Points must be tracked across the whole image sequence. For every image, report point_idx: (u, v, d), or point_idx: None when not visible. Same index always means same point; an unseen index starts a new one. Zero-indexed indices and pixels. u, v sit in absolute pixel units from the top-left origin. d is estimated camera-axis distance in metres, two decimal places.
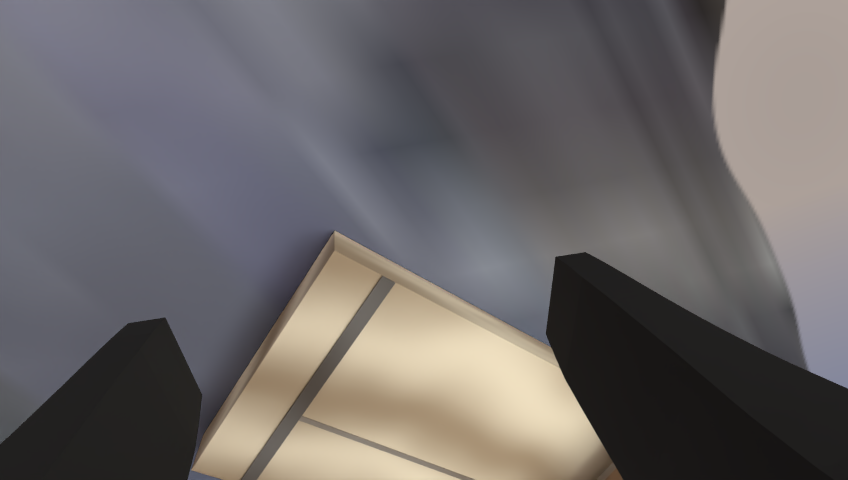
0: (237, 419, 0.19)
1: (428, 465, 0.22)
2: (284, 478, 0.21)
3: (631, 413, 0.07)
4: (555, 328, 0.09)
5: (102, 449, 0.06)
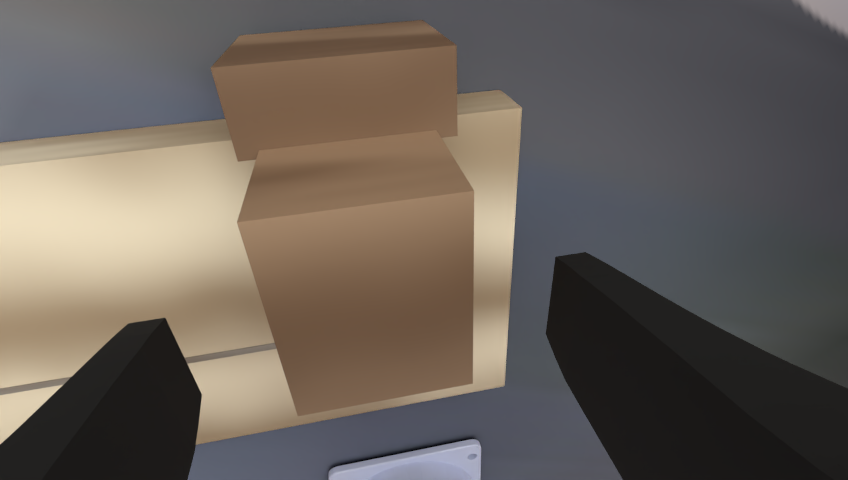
0: None
1: None
2: None
3: (631, 413, 0.07)
4: (555, 328, 0.09)
5: (102, 449, 0.06)
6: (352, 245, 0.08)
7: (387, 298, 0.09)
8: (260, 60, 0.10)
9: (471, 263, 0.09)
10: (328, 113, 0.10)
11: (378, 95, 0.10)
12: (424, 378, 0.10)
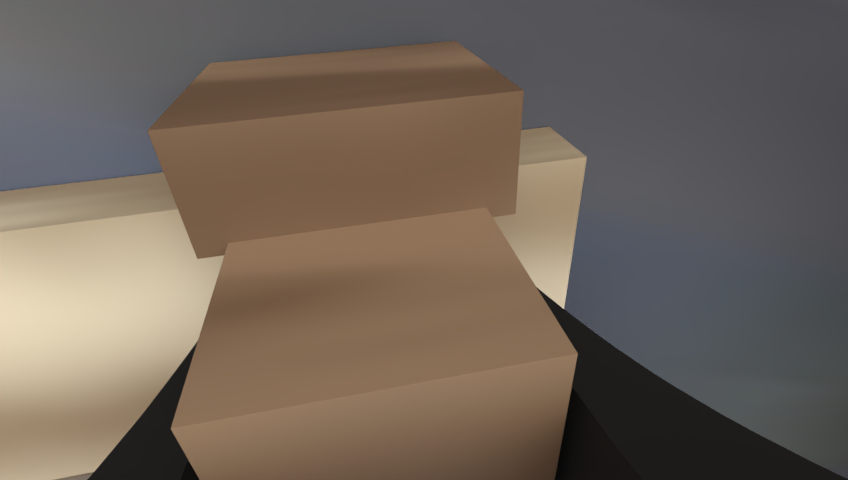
0: None
1: None
2: None
3: None
4: None
5: None
6: (371, 440, 0.05)
7: None
8: (227, 115, 0.06)
9: (558, 444, 0.06)
10: (331, 190, 0.07)
11: (405, 163, 0.07)
12: None
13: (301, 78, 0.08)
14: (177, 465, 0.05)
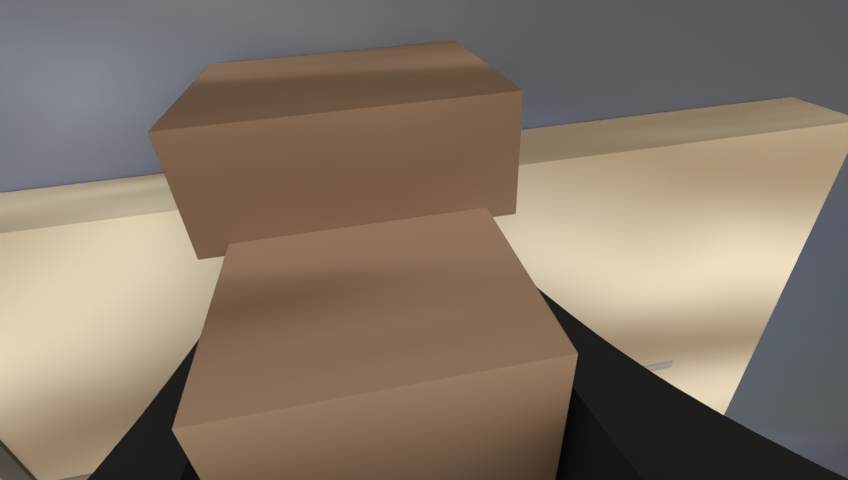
0: None
1: None
2: None
3: None
4: None
5: None
6: (372, 440, 0.05)
7: None
8: (227, 117, 0.06)
9: (558, 444, 0.06)
10: (331, 190, 0.07)
11: (405, 163, 0.07)
12: None
13: (301, 79, 0.08)
14: (177, 465, 0.05)
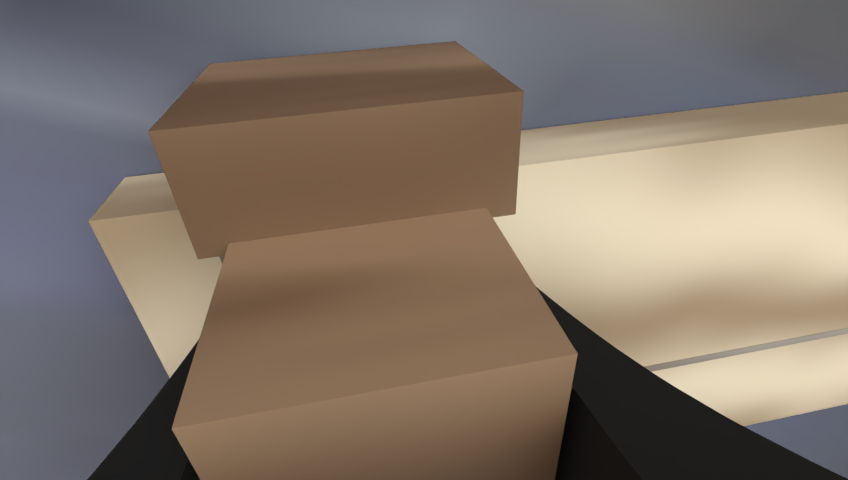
0: None
1: None
2: None
3: None
4: None
5: None
6: (371, 440, 0.05)
7: None
8: (227, 116, 0.06)
9: (558, 444, 0.06)
10: (331, 190, 0.07)
11: (405, 164, 0.07)
12: None
13: (301, 79, 0.08)
14: (177, 465, 0.05)
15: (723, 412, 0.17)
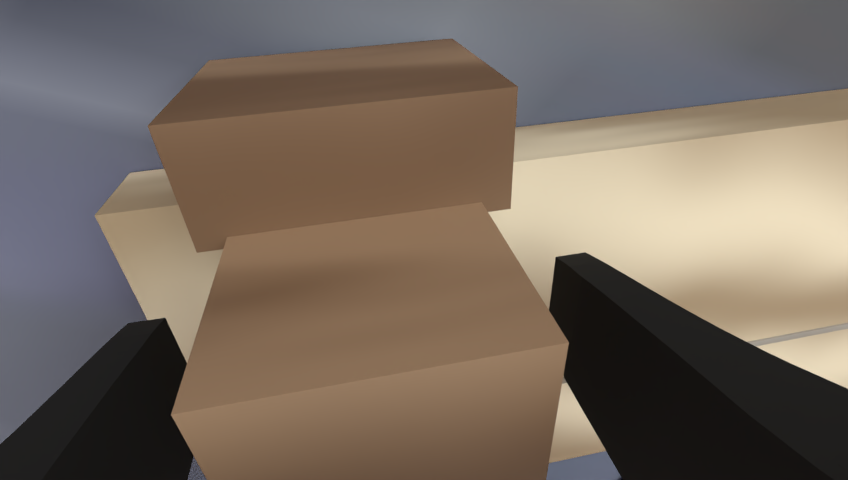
0: None
1: None
2: None
3: (631, 413, 0.07)
4: None
5: (102, 449, 0.06)
6: (366, 427, 0.05)
7: None
8: (226, 111, 0.06)
9: (550, 433, 0.06)
10: (328, 184, 0.07)
11: (401, 158, 0.07)
12: None
13: (299, 75, 0.08)
14: None
15: None
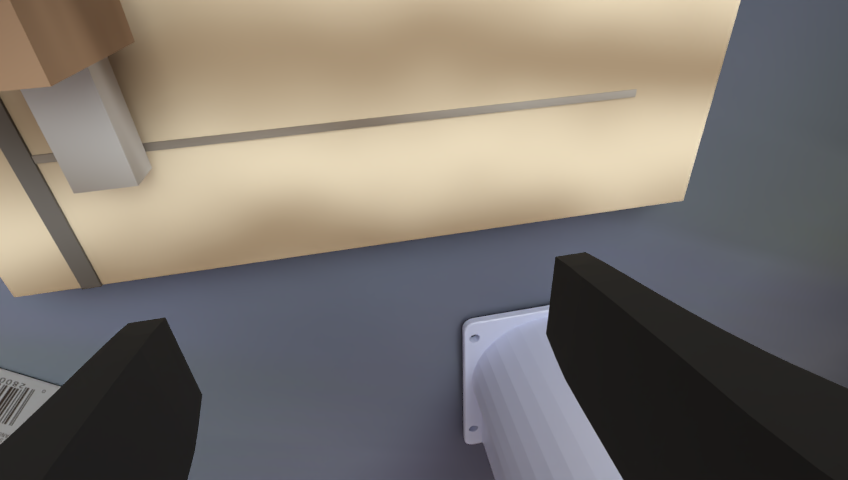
0: None
1: (284, 134, 0.14)
2: (125, 253, 0.15)
3: (631, 413, 0.07)
4: (555, 328, 0.09)
5: (102, 449, 0.06)
6: None
7: None
8: None
9: None
10: None
11: None
12: None
13: None
14: None
15: (513, 196, 0.17)
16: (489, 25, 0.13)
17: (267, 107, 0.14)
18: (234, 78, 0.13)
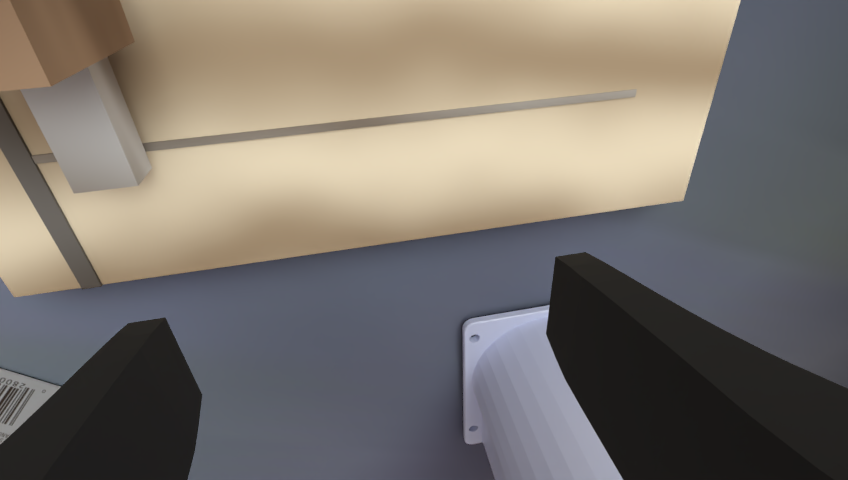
0: None
1: (284, 134, 0.14)
2: (125, 253, 0.15)
3: (631, 413, 0.07)
4: (555, 328, 0.09)
5: (102, 449, 0.06)
6: None
7: None
8: None
9: None
10: None
11: None
12: None
13: None
14: None
15: (513, 196, 0.17)
16: (489, 25, 0.13)
17: (267, 107, 0.14)
18: (234, 78, 0.13)
